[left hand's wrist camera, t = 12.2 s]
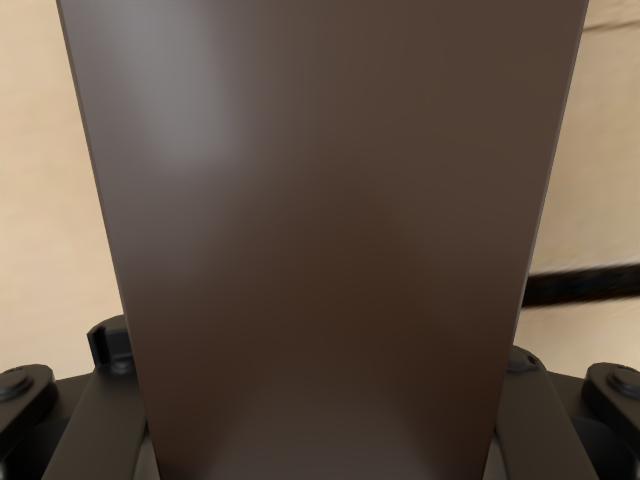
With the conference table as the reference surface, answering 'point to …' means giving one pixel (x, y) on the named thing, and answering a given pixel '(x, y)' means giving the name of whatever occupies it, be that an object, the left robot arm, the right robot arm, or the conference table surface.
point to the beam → (321, 220)
